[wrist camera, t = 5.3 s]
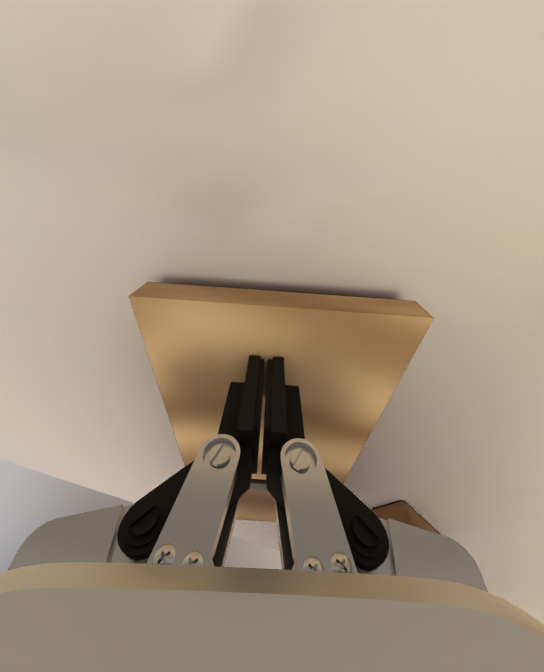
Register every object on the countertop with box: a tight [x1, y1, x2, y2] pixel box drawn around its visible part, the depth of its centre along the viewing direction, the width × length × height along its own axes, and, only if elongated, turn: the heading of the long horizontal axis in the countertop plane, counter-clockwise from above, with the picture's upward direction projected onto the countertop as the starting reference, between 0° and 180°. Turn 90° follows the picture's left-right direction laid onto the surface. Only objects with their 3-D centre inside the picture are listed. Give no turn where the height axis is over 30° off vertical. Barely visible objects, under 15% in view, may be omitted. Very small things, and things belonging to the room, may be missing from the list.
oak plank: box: [129, 282, 434, 484], centre depth 14 cm, size 15×12×2 cm
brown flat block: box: [236, 479, 277, 522], centre depth 20 cm, size 7×12×2 cm, turn 86°
